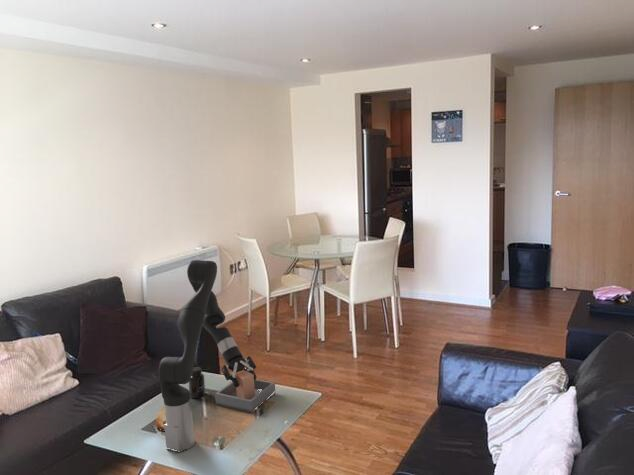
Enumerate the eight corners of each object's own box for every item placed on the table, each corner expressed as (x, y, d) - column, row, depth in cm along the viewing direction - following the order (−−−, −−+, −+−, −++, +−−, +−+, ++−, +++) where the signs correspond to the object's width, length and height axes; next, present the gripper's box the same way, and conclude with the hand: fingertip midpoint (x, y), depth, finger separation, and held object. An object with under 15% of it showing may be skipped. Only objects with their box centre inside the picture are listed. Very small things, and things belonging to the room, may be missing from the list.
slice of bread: (176, 402, 223) (175, 394, 222) (203, 415, 211) (202, 406, 211) (138, 420, 209) (137, 412, 209) (165, 434, 198) (164, 425, 197)
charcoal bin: (251, 413, 210) (251, 401, 210) (215, 404, 219) (215, 393, 218) (275, 393, 226) (274, 382, 225) (241, 386, 234) (240, 376, 233)
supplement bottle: (203, 398, 225) (201, 372, 222) (187, 399, 225) (185, 372, 223) (207, 391, 231) (205, 365, 229) (191, 391, 231) (189, 366, 229)
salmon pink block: (255, 396, 222) (253, 374, 220) (244, 401, 218) (242, 378, 217) (247, 392, 226) (245, 370, 224) (236, 397, 222) (235, 375, 221)
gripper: (218, 350, 219) (235, 384, 213) (246, 341, 229) (263, 373, 222) (212, 359, 224) (229, 393, 218) (240, 349, 234) (257, 381, 227)
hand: (246, 383), depth 220 cm, fingers open, 8 cm apart
